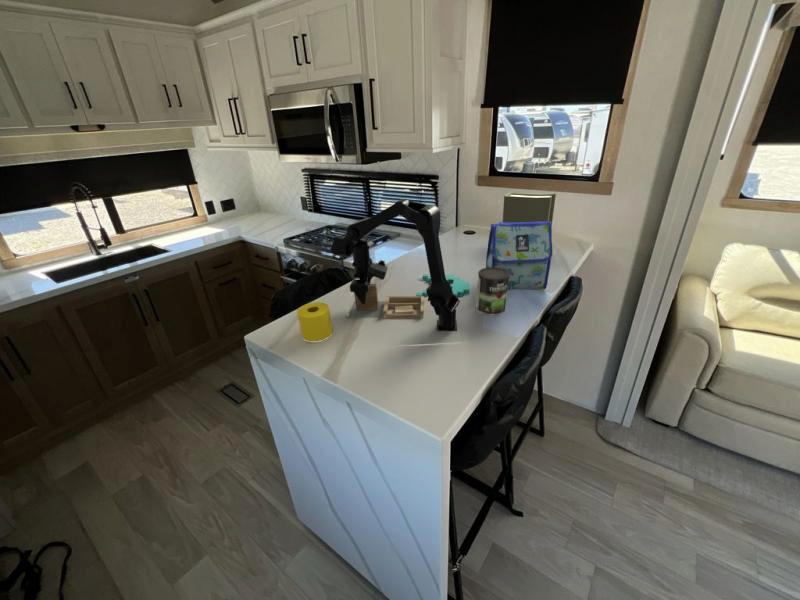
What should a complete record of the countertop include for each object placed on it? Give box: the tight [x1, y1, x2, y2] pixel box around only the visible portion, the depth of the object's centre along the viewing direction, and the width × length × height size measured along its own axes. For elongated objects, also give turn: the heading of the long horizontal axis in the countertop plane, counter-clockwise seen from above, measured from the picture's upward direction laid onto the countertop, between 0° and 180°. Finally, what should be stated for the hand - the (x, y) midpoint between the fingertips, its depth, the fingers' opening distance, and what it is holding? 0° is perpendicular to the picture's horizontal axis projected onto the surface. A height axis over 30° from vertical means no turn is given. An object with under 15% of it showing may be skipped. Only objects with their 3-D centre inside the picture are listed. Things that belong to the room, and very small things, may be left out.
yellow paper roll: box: [296, 301, 334, 341], centre depth 115 cm, size 10×10×9 cm
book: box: [502, 192, 557, 226], centre depth 170 cm, size 22×9×28 cm, turn 55°
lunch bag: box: [485, 221, 553, 291], centre depth 136 cm, size 22×17×26 cm
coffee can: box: [475, 267, 509, 317], centre depth 124 cm, size 10×10×14 cm
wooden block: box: [353, 283, 379, 310], centre depth 128 cm, size 2×8×10 cm, turn 85°
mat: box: [347, 300, 386, 319], centre depth 130 cm, size 12×12×1 cm
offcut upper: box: [394, 306, 414, 314], centre depth 127 cm, size 4×6×1 cm, turn 91°
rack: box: [382, 295, 425, 319], centre depth 128 cm, size 11×14×3 cm
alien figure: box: [415, 273, 471, 298], centre depth 143 cm, size 20×2×20 cm
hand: (365, 298), depth 128 cm, fingers open, 8 cm apart
